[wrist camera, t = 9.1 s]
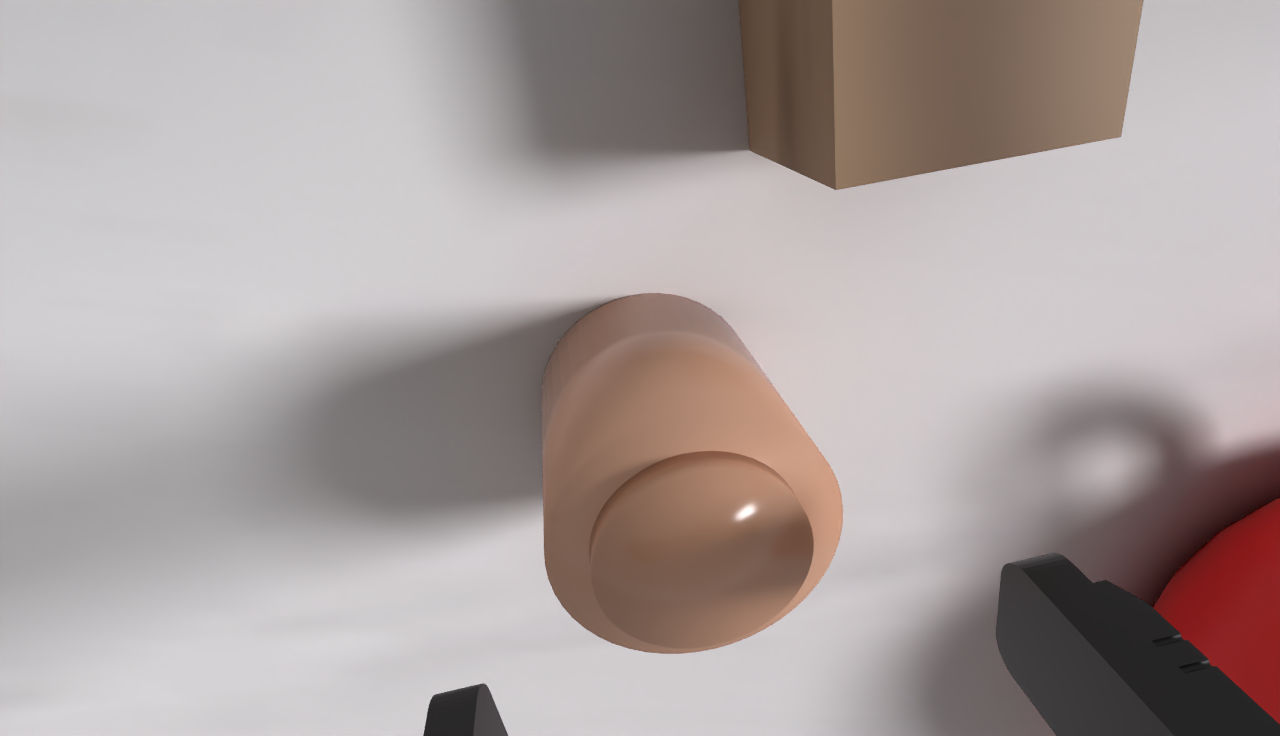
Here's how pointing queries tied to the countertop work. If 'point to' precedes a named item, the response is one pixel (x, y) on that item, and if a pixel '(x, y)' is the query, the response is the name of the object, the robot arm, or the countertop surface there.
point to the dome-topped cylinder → (677, 481)
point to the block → (930, 81)
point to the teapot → (1234, 604)
